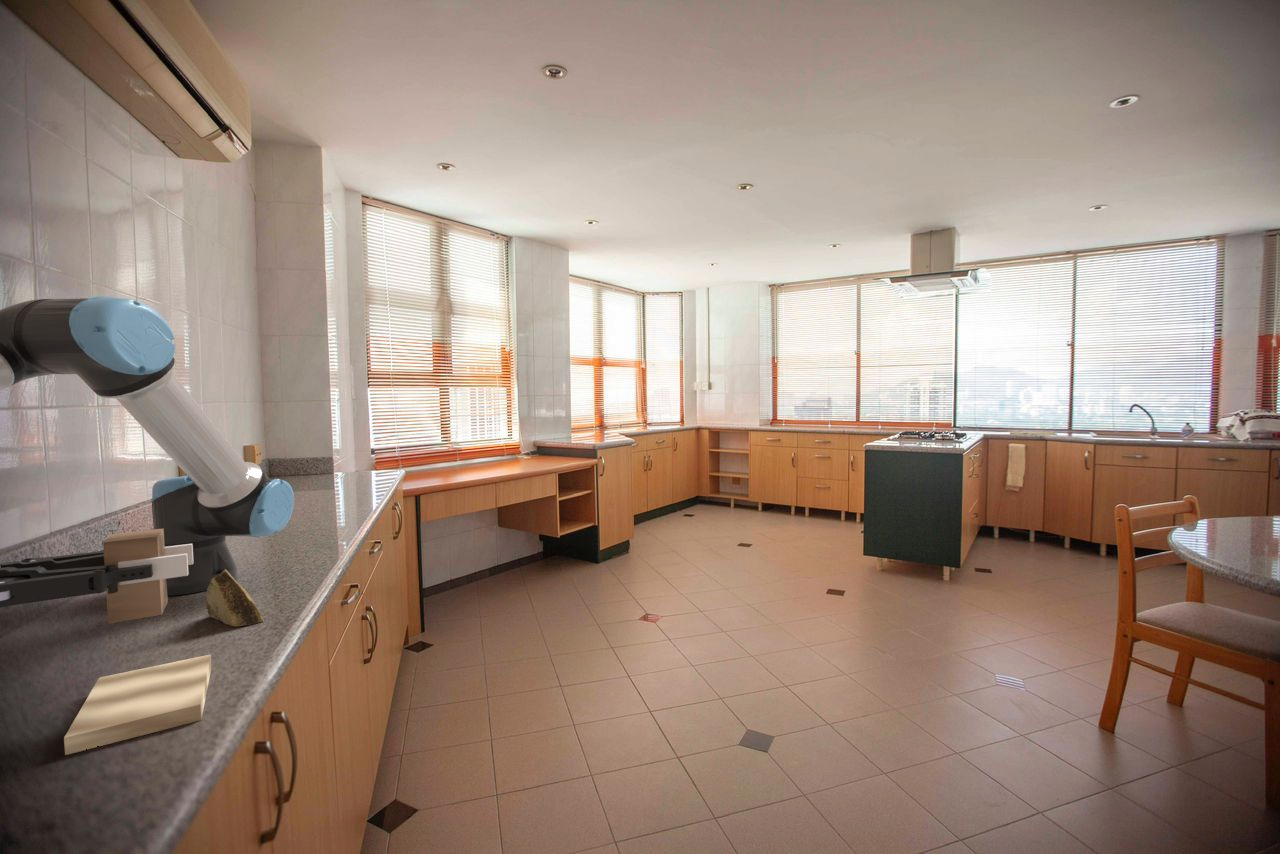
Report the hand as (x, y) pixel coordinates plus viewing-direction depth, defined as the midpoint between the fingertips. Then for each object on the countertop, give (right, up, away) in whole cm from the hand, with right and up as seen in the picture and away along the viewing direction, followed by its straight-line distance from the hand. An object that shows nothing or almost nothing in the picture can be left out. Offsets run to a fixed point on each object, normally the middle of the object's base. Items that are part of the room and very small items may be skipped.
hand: (189, 559), depth 75 cm
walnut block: (-4, -6, -3) cm, 8 cm away
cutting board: (-4, -18, -2) cm, 19 cm away
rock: (-13, -17, +26) cm, 33 cm away
